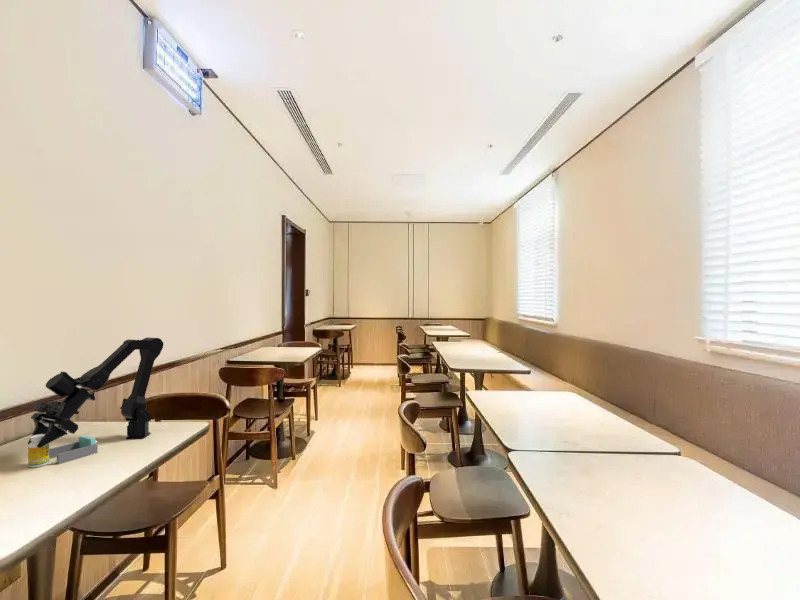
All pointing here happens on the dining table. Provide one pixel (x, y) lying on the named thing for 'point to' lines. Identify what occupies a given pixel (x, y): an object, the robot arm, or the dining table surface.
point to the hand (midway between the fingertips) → (33, 445)
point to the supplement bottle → (37, 452)
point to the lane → (74, 449)
